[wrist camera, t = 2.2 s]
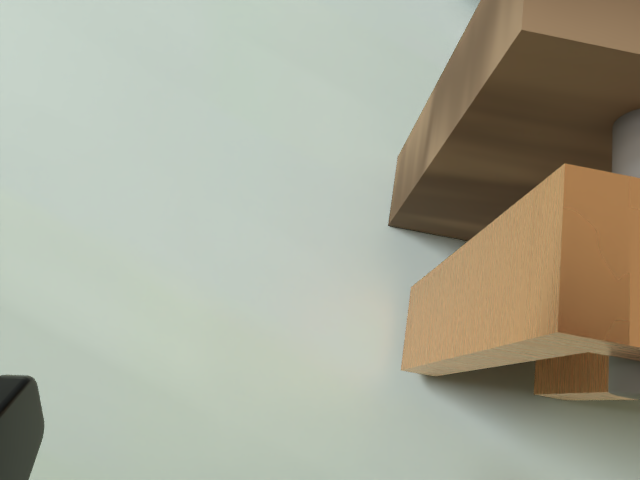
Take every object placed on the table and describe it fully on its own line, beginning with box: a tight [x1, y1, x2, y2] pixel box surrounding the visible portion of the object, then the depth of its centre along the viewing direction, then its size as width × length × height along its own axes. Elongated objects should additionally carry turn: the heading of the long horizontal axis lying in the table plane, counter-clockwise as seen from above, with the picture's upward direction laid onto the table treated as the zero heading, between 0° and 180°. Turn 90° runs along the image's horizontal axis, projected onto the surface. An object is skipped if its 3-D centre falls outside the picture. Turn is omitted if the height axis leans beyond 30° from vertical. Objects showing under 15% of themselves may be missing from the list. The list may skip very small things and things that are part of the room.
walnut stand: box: [388, 0, 640, 400], centre depth 16 cm, size 9×8×12 cm
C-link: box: [401, 163, 640, 400], centre depth 15 cm, size 3×6×11 cm, turn 80°
